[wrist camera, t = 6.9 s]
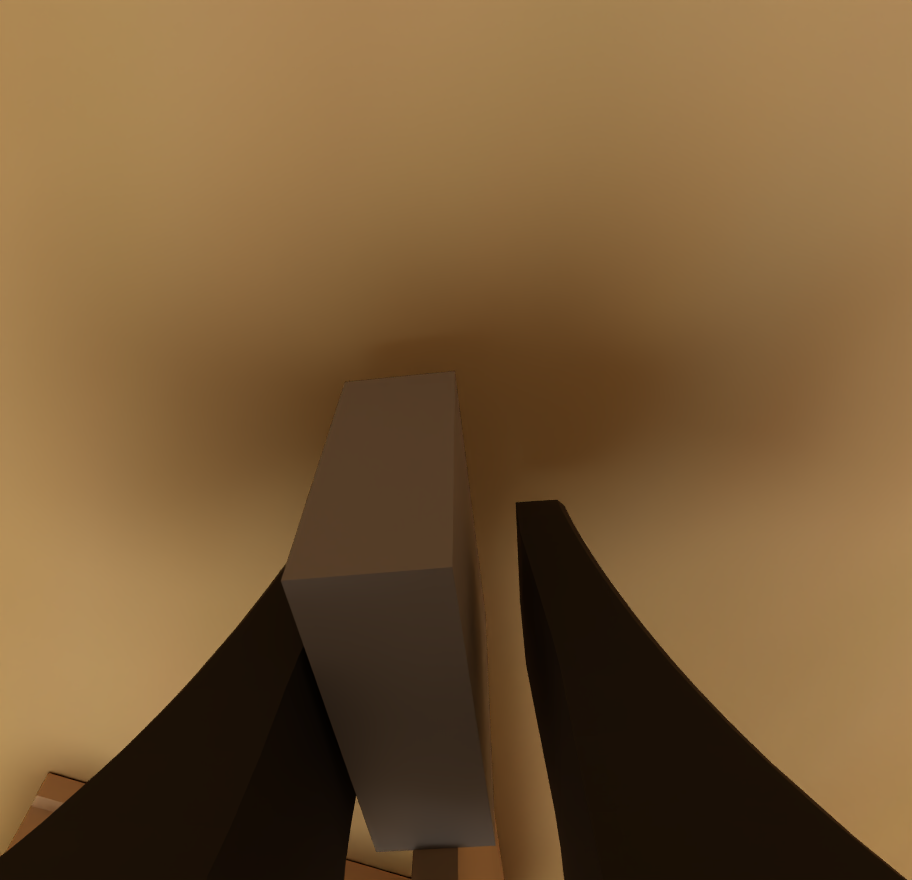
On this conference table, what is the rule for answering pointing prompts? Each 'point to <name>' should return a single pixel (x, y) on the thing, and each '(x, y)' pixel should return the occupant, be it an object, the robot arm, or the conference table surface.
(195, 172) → the conference table surface
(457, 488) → the grey-topped wooden pole
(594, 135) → the conference table surface
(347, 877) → the carton
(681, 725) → the robot arm
